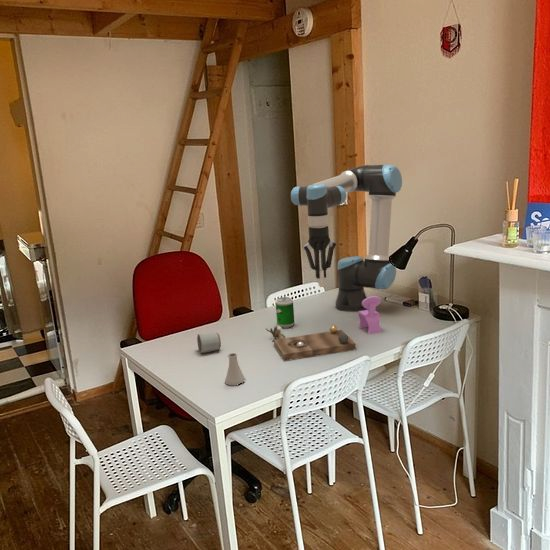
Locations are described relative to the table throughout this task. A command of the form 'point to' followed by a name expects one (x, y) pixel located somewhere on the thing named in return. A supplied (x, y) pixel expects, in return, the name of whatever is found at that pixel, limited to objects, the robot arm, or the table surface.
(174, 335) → the table surface
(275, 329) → the eagle figurine
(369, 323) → the toy chair
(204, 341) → the grey cylinder
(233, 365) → the flask
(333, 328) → the brass ball
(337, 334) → the board
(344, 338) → the black rubber ball
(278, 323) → the soda can
